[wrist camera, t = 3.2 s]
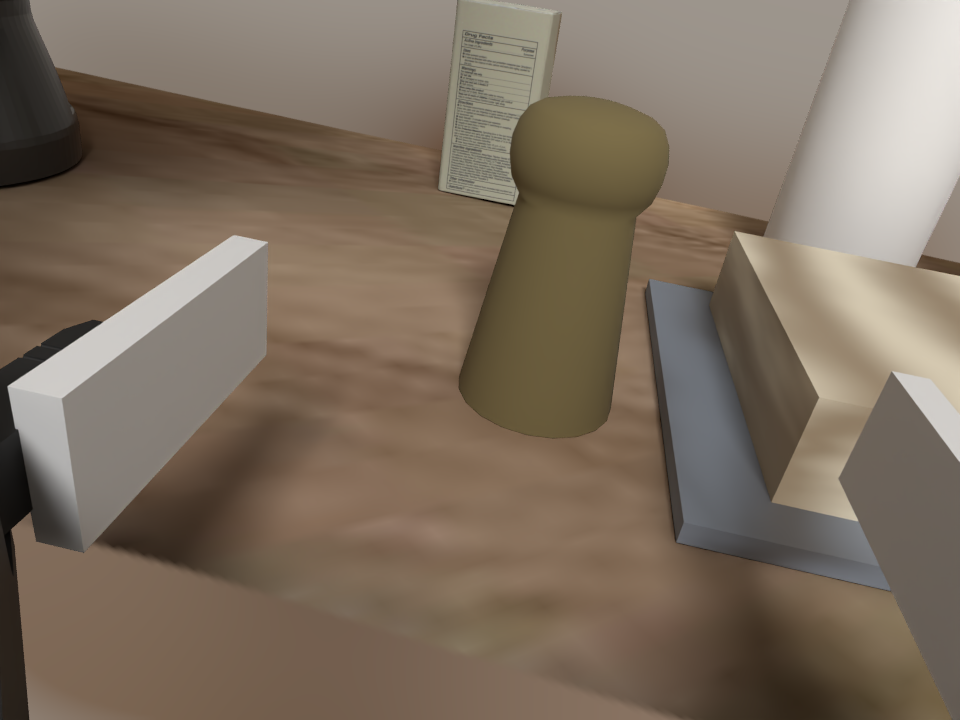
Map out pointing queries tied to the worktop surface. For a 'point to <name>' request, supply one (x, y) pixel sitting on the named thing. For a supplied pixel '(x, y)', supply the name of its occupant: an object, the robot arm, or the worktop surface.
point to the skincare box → (493, 92)
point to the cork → (563, 266)
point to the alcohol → (878, 135)
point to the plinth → (728, 459)
